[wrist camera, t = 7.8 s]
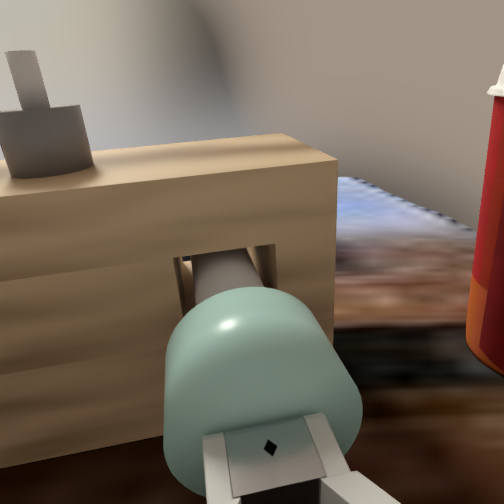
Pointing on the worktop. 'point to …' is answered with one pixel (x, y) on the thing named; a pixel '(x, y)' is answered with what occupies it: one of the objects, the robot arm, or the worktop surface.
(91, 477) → the worktop surface
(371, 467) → the worktop surface
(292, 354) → the teal knob
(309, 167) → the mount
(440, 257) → the worktop surface
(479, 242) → the coffee cup
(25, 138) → the potentiometer
